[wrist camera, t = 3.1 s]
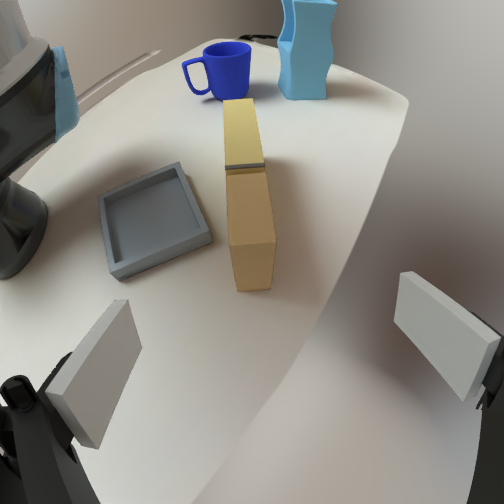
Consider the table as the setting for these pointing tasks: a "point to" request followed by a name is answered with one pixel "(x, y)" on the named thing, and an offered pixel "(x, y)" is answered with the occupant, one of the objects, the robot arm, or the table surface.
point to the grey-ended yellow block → (242, 138)
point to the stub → (250, 231)
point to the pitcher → (305, 48)
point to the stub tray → (150, 221)
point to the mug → (224, 70)
